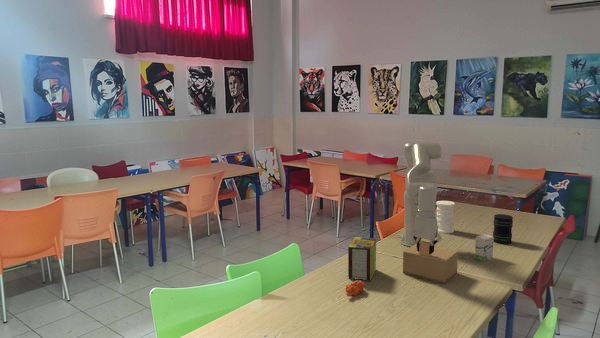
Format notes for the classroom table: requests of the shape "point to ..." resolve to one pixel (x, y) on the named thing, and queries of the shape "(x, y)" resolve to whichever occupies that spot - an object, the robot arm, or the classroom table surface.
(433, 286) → the classroom table surface
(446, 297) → the classroom table surface
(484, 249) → the ink box
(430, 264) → the carton
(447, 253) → the lid flap
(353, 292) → the orange toy bird
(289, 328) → the classroom table surface
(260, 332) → the classroom table surface
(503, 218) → the storage jar
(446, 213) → the decorative container
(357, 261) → the protein box
